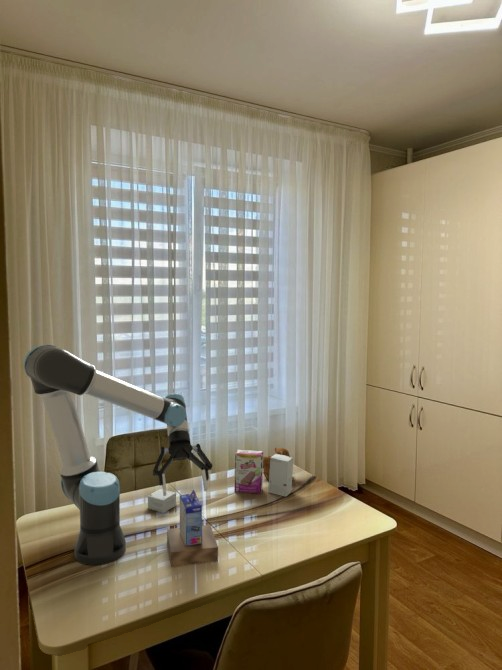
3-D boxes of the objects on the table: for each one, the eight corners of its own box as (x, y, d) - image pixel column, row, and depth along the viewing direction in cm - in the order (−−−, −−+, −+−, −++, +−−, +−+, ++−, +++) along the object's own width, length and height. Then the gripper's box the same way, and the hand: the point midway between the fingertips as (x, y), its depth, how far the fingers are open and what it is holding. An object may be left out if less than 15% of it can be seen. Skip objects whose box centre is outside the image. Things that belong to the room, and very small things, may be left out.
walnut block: (170, 568, 138) (170, 552, 138) (167, 544, 152) (167, 529, 151) (217, 562, 142) (217, 547, 141) (210, 539, 155) (210, 524, 155)
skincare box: (268, 493, 191) (268, 457, 189) (274, 487, 196) (274, 452, 195) (287, 497, 187) (287, 461, 186) (292, 491, 192) (293, 456, 191)
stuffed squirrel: (295, 481, 204) (296, 451, 202) (264, 484, 199) (265, 454, 198) (287, 472, 213) (288, 444, 212) (257, 475, 209) (258, 446, 208)
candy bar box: (234, 492, 191) (234, 453, 189) (235, 487, 195) (236, 449, 194) (261, 494, 189) (262, 454, 188) (262, 489, 194) (263, 450, 193)
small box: (176, 505, 179) (176, 492, 178) (163, 513, 172) (163, 500, 171) (160, 500, 182) (160, 488, 182) (147, 508, 175) (146, 495, 175)
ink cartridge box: (203, 543, 142) (202, 497, 141) (185, 547, 141) (184, 500, 139) (196, 528, 152) (195, 485, 150) (179, 531, 150) (177, 487, 148)
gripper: (210, 436, 175) (220, 492, 162) (142, 442, 167) (146, 500, 154) (214, 426, 169) (224, 483, 156) (143, 431, 162) (147, 491, 149)
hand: (185, 492), depth 155 cm, fingers open, 13 cm apart
